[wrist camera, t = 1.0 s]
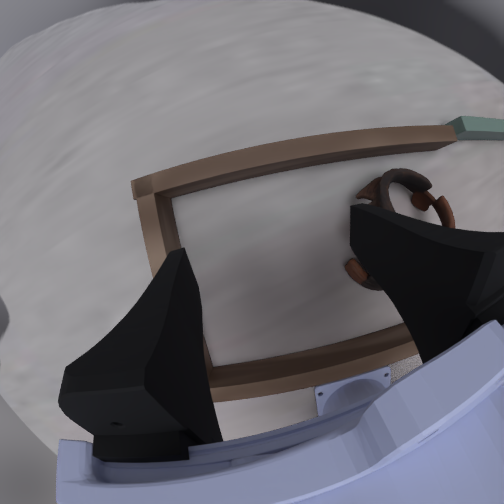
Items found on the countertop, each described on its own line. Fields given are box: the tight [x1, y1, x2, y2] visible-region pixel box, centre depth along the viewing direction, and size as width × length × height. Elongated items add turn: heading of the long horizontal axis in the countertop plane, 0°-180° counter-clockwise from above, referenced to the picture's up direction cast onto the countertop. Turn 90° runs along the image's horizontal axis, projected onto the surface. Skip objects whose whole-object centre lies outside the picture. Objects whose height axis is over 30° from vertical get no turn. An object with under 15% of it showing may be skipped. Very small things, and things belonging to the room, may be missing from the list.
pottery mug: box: [345, 168, 455, 291], centre depth 20 cm, size 12×10×8 cm
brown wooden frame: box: [131, 125, 458, 402], centre depth 21 cm, size 19×28×4 cm
